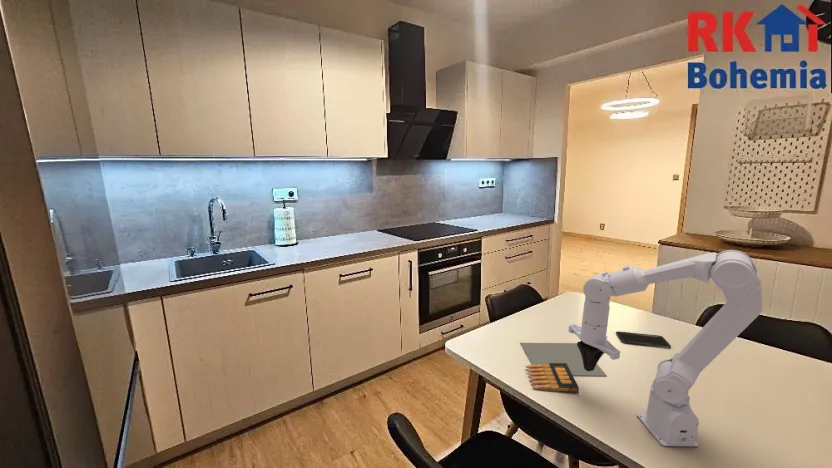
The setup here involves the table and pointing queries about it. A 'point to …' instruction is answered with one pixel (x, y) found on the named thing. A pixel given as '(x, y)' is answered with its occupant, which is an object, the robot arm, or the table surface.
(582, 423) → the table surface
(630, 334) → the phone
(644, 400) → the table surface
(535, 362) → the mat
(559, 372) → the ammunition clip
